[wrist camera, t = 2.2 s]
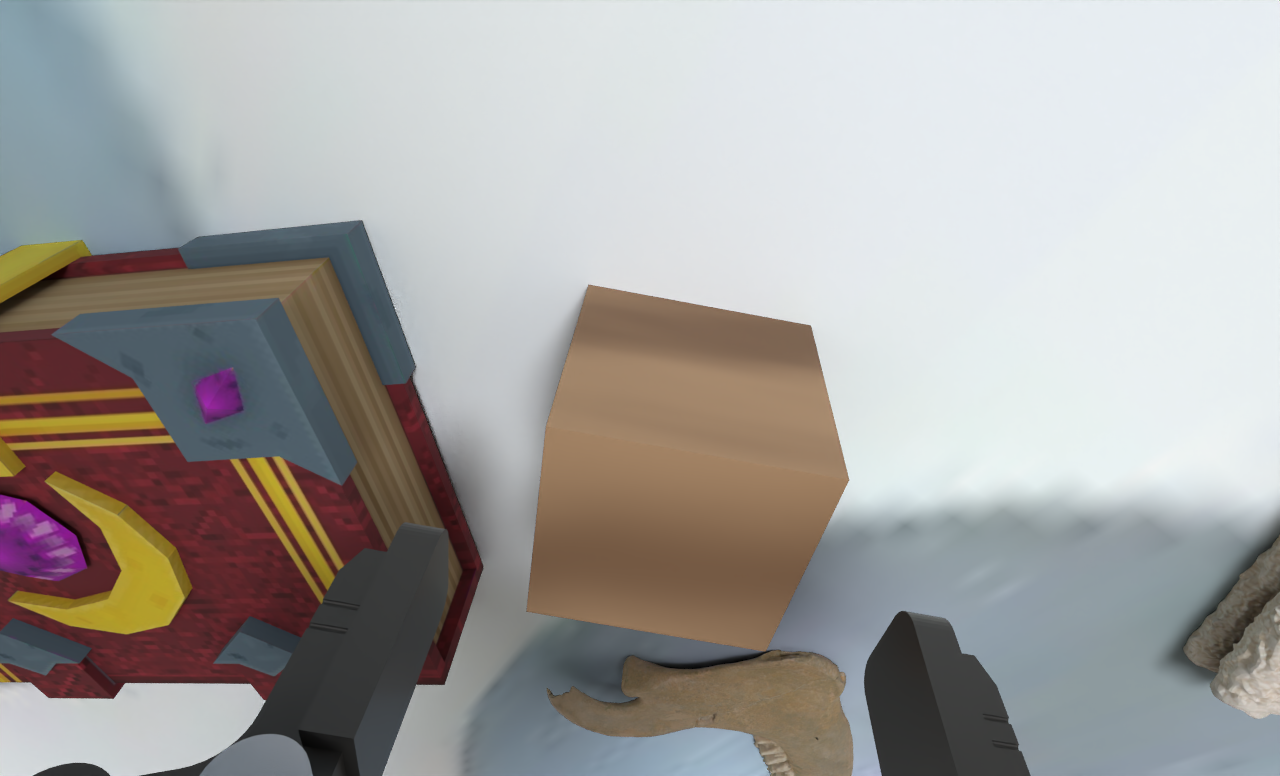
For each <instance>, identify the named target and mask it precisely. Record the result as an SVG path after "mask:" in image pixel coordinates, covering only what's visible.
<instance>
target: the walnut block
mask: <svg viewBox="0 0 1280 776" xmlns="http://www.w3.org/2000/svg"><path fill="white" fill-rule="evenodd" d="M848 481H849V477H848V473H847V469H846V465H845V461H844V457H843V453H842V449H841V445H840V441H839V437H838V433H837V429H836V425H835V421H834V417H833V413H832V409H831V405H830V401H829V397H828V393H827V389H826V385H825V381H824V377H823V373H822V369H821V365H820V360H819V356H818V352H817V348H816V344H815V340H814V336H813V332H812V328H811V326H810V325H805V324H799V323H794V322H788V321H783V320H778V319H772V318H767V317H761V316H756V315H750V314H745V313H740V312H734V311H729V310H723V309H718V308H713V307H707V306H702V305H696V304H691V303H685V302H680V301H675V300H669V299H664V298H658V297H653V296H648V295H642V294H637V293H631V292H626V291H620V290H615V289H610V288H604V287H599V286H593V285H588V289H587V292H586V295H585V298H584V302H583V305H582V308H581V312H580V315H579V318H578V322H577V325H576V328H575V332H574V335H573V338H572V342H571V345H570V348H569V352H568V355H567V358H566V362H565V365H564V368H563V371H562V375H561V378H560V381H559V385H558V388H557V391H556V395H555V398H554V401H553V405H552V408H551V411H550V415H549V418H548V421H547V425H546V431H545V440H544V450H543V459H542V469H541V478H540V488H539V497H538V507H537V516H536V526H535V535H534V545H533V554H532V564H531V573H530V583H529V592H528V602H527V611H526V612H532V613H538V614H544V615H550V616H556V617H562V618H568V619H574V620H580V621H586V622H592V623H598V624H604V625H610V626H616V627H622V628H628V629H634V630H640V631H645V632H651V633H657V634H663V635H669V636H675V637H681V638H687V639H693V640H699V641H705V642H711V643H717V644H723V645H729V646H735V647H741V648H747V649H753V650H759V651H765V652H766V650H767V648H768V646H769V644H770V642H771V640H772V637H773V635H774V633H775V631H776V629H777V627H778V625H779V623H780V621H781V619H782V617H783V615H784V613H785V611H786V609H787V607H788V605H789V603H790V600H791V598H792V596H793V594H794V592H795V590H796V588H797V586H798V584H799V582H800V580H801V578H802V576H803V574H804V572H805V570H806V568H807V566H808V564H809V561H810V559H811V557H812V555H813V553H814V551H815V549H816V547H817V545H818V543H819V541H820V539H821V537H822V535H823V533H824V531H825V529H826V527H827V524H828V522H829V520H830V518H831V516H832V514H833V512H834V510H835V508H836V506H837V504H838V502H839V500H840V498H841V496H842V494H843V492H844V490H845V487H846V485H847V483H848Z"/></svg>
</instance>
